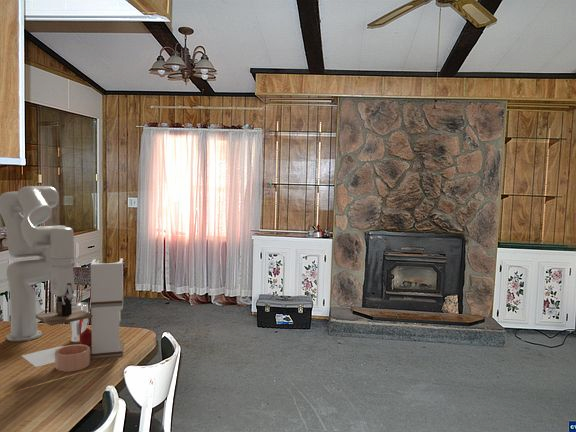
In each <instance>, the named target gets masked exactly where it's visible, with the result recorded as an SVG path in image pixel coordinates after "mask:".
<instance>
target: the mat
mask: <svg viewBox="0 0 576 432" xmlns="http://www.w3.org/2000/svg"><path fill="white" fill-rule="evenodd" d="M61 347H64V345H60V346H56V347H52V348H46V349H42V350H38V351H35V352H31V353H27V354H22V355H21V357H22V358H23V359H25V361H27V362H29V363H30V364H31V365H32V366H34V367H35V368H38V367H42V366H45V365H49V364H55V352H56V350H57V349H59V348H61Z"/></svg>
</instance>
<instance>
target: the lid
mask: <svg viewBox="0 0 576 432" xmlns="http://www.w3.org/2000/svg"><path fill="white" fill-rule="evenodd" d="M62 305H63V303H62V301H60V302H58V303H57V308H58V314H57V313H56V310H55V311H51V312H50V311H49V312H44V313H39V314H38V313H37V315H36V318H37V320H39V321H41V322H43V323H44V324H47V325H48V326H51V327H52V326H56V325H61V324H66V323H70V322H72V321H77V320H82V319H87V318H88V319H91V318H92V314H91V313H89V312H88V313H87V312H85V311H83V310H80V309H78V308H72V314H71V315H67V316H62Z"/></svg>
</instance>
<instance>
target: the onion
mask: <svg viewBox="0 0 576 432" xmlns="http://www.w3.org/2000/svg"><path fill="white" fill-rule="evenodd" d="M79 343H80V344H81V345H87V346H89V347H90V348H91V347H92V329H90V328H89V327H88V326H87V327H86V330H85V331H83V332H82V334H81V335H80V342H79Z"/></svg>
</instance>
